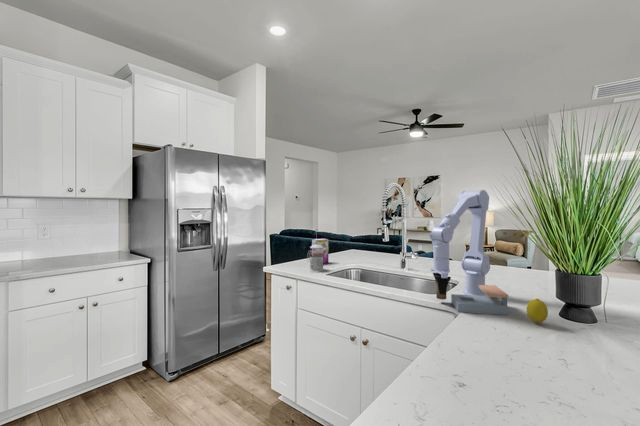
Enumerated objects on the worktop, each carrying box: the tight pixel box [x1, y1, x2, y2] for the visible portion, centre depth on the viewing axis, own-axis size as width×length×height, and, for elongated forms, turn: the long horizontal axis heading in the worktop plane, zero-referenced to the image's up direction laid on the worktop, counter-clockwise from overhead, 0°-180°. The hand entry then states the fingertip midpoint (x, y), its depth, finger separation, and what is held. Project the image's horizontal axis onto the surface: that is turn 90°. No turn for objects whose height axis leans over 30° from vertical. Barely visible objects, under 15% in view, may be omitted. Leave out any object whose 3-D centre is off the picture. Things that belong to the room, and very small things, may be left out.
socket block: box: [450, 284, 509, 316], centre depth 114 cm, size 13×16×7 cm
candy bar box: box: [311, 238, 330, 264], centre depth 208 cm, size 11×5×16 cm, turn 130°
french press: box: [306, 228, 326, 273], centre depth 186 cm, size 10×12×25 cm
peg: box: [435, 281, 447, 300], centre depth 121 cm, size 4×4×8 cm
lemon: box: [526, 297, 549, 325], centre depth 98 cm, size 6×6×8 cm
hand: (441, 292), depth 121 cm, fingers closed on peg, 4 cm apart
